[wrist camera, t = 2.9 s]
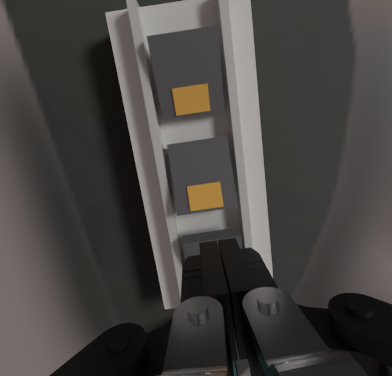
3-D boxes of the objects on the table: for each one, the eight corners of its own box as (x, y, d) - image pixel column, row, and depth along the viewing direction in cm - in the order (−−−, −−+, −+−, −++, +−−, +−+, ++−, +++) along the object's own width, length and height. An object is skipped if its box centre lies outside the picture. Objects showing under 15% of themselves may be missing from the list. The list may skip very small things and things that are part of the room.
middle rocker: (168, 146, 20) (166, 144, 19) (225, 138, 20) (227, 135, 19) (178, 214, 20) (177, 215, 19) (235, 206, 20) (238, 207, 19)
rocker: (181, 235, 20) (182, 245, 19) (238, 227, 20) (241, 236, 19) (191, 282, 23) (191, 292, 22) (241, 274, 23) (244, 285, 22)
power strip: (118, 30, 21) (97, 2, 17) (239, 11, 21) (254, -21, 17) (167, 286, 27) (163, 321, 22) (263, 272, 27) (279, 305, 22)
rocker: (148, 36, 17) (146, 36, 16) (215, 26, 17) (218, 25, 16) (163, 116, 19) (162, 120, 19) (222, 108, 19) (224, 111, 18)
